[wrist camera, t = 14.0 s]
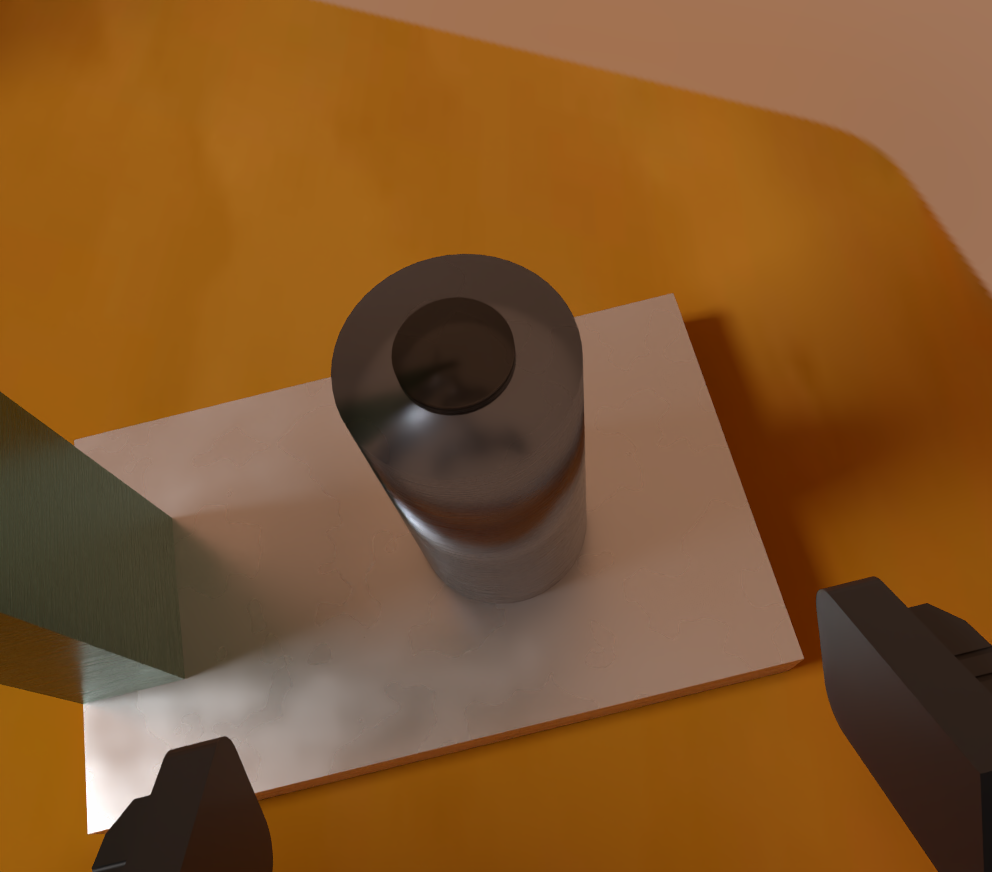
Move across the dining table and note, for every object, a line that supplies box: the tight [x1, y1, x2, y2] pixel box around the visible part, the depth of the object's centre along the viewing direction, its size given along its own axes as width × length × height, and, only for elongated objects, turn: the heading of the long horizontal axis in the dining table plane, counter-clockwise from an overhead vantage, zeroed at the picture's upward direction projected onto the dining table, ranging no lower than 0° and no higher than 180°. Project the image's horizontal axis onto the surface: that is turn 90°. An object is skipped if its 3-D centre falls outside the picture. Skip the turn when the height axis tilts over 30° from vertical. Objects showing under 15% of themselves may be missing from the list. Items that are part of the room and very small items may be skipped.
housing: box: [331, 254, 587, 604], centre depth 22 cm, size 5×5×10 cm
